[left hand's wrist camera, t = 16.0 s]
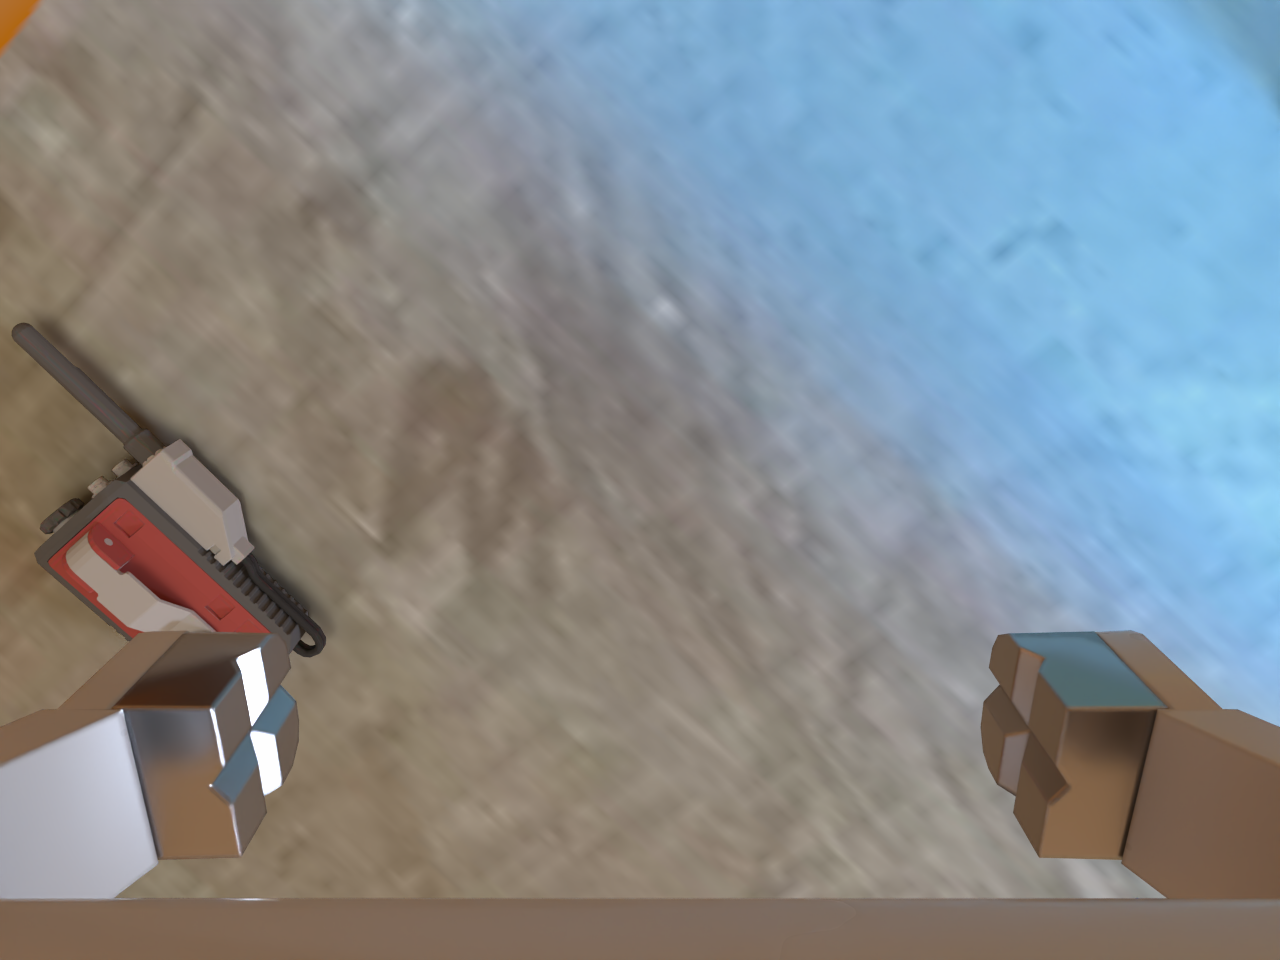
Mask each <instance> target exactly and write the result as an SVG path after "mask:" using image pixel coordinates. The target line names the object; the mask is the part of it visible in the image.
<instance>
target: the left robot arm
mask: <svg viewBox="0 0 1280 960" xmlns="http://www.w3.org/2000/svg"><path fill="white" fill-rule="evenodd" d="M290 669H291V665H290V660H289V655H288V649H287V644H286V641H285V640H284V639H283V638H282V637H281V636H280V635H279V633H247V632H189V631H152V632H143V633H138V634H137V635H136V636H135V637H134V638H133V639H132V640H131V641H130V642H129V643H128V644H126V645H125V646H124V647H123V648H122V649H121V650H120V651H119V652H118V653H117V654H116V655H115V656H114V657H113V658H112V659H110V660H109V661H108V662H107V663H106V664H105V665H104V666H103V667H102V668H101V669H100V670H99V671H98V672H97V673H96V674H94V675H93V676H92V677H91V678H90V679H89V680H88V681H87V682H86V683H85V684H84V685H83V686H82V687H81V688H80V689H78V690H77V691H76V692H75V693H74V694H73V695H72V696H71V697H70V698H69V699H68V700H67V701H66V702H65V703H63V704H62V705H61V706H60V707H59V708H58V709H42V710H40V711H38V712H35V713H33V714H30V715H28V716H26V717H23V718H21V719H18V720H16V721H14V722H11V723H9V724H6V725H4V726H2V727H0V960H1280V727H1278V726H1276V725H1274V724H1271V723H1269V722H1266V721H1264V720H1262V719H1259V718H1257V717H1254V716H1252V715H1250V714H1247V713H1245V712H1242V711H1240V710H1238V709H1222V708H1221V707H1220V706H1219V705H1218V704H1217V703H1216V702H1214V701H1213V700H1212V699H1211V698H1210V697H1209V696H1208V695H1207V694H1206V693H1205V692H1204V691H1203V690H1202V689H1201V688H1200V687H1198V686H1197V685H1196V684H1195V683H1194V682H1193V681H1192V680H1191V679H1190V678H1189V677H1188V676H1187V675H1186V674H1185V673H1184V672H1183V671H1181V670H1180V669H1179V668H1178V667H1177V666H1176V665H1175V664H1174V663H1173V662H1172V661H1171V660H1170V659H1169V658H1168V657H1167V656H1165V655H1164V654H1163V653H1162V652H1161V651H1160V650H1159V649H1158V648H1157V647H1156V646H1155V645H1154V644H1153V643H1152V642H1151V641H1150V640H1148V639H1147V638H1146V637H1145V636H1144V635H1143V634H1141V633H1138V632H1134V631H1131V630H1128V631H1104V632H1053V633H1012V634H1002V635H998V637H997V639H996V641H995V643H994V645H993V648H992V653H991V659H990V664H989V669H990V670H991V672H992V673H993V675H994V676H995V678H996V679H997V681H998V682H999V684H1000V685H999V686H998V687H997V688H996V689H995V690H994V691H993V692H992V693H991V694H990V695H989V696H988V698H987V699H986V700H985V701H984V703H983V712H982V720H981V736H982V746H983V753H984V756H985V759H986V762H987V765H988V768H989V770H990V772H991V774H992V776H993V778H994V780H995V781H996V783H997V785H999V786H1000V787H1002V788H1004V789H1005V790H1007V791H1008V792H1010V793H1011V794H1013V795H1015V796H1016V798H1015V804H1014V810H1013V813H1014V815H1015V817H1016V818H1017V820H1018V822H1019V824H1020V825H1021V827H1022V829H1023V831H1024V832H1025V834H1026V836H1027V837H1028V839H1029V841H1030V843H1031V844H1032V846H1033V848H1034V850H1035V851H1036V853H1037V855H1038V856H1039V858H1076V859H1112V860H1122V862H1121V863H1122V864H1123V865H1124V866H1125V867H1127V868H1128V869H1129V870H1131V871H1132V872H1133V873H1135V874H1136V875H1137V876H1139V877H1140V878H1141V879H1143V880H1144V881H1145V882H1147V883H1148V884H1149V885H1151V886H1152V887H1153V888H1154V889H1156V890H1157V891H1158V892H1160V893H1161V894H1162V895H1164V896H1165V897H1166V898H779V899H778V898H773V899H772V898H766V899H765V898H753V899H751V898H746V899H744V898H740V899H738V898H733V899H730V898H726V899H724V898H720V899H717V898H713V899H709V898H706V899H703V898H700V899H696V898H693V899H688V898H687V899H682V898H680V899H675V898H673V899H661V898H660V899H654V898H653V899H510V898H508V899H507V898H114V897H115V896H117V895H118V894H119V893H121V892H122V891H123V890H125V889H126V888H127V887H128V886H130V885H131V884H132V883H134V882H135V881H136V880H138V879H139V878H140V877H142V876H143V875H144V874H146V873H147V872H148V871H150V870H151V869H152V868H154V867H155V866H156V865H158V860H167V859H203V858H238V857H242V855H243V853H244V851H245V850H246V848H247V846H248V844H249V843H250V841H251V839H252V838H253V836H254V834H255V832H256V831H257V829H258V827H259V825H260V824H261V822H262V820H263V818H264V817H265V815H266V813H267V810H266V804H265V798H264V796H265V795H267V794H269V793H270V792H272V791H273V790H275V789H276V788H278V787H280V786H281V785H283V783H284V781H285V780H286V778H287V776H288V774H289V772H290V770H291V768H292V766H293V763H294V758H295V754H296V750H297V746H298V742H299V717H298V710H297V703H296V701H295V700H294V699H293V698H292V696H291V695H290V694H289V693H288V692H287V691H286V690H285V689H284V688H283V687H282V686H281V685H280V684H281V682H282V681H283V679H284V678H285V676H286V675H287V673H288V672H289V670H290Z"/></svg>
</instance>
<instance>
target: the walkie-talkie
mask: <svg viewBox="0 0 1280 960" xmlns="http://www.w3.org/2000/svg"><path fill="white" fill-rule="evenodd" d="M12 337H13V339H14V341H15V342H16V343H17V344H19V345H20V346H21V347H22V348H23V349H24V350H25V351H26V352H27V353H28V354H29V355H30V356H31V357H32V358H33V359H34V360H35V361H37V362H38V363H39V364H40V365H41V366H42V367H43V368H44V369H45V370H46V371H47V372H48V373H49V374H50V375H51V376H52V377H53V378H55V379H56V380H57V381H58V382H59V383H60V384H61V385H62V386H63V387H64V388H65V389H66V390H67V391H68V392H69V393H70V394H71V395H73V396H74V397H75V398H76V399H77V400H78V401H79V402H80V403H81V404H82V405H83V406H84V407H85V408H86V409H87V410H88V411H89V412H91V413H92V414H93V415H94V416H95V417H96V418H97V419H98V420H99V421H100V422H101V423H102V424H103V425H104V426H105V427H106V428H107V429H109V430H110V431H111V432H112V433H113V434H114V435H115V436H116V437H117V438H118V439H119V440H120V441H121V442H122V443H123V444H124V449H125V450H126V451H128V452H129V453H130V454H131V455H132V456H133V457H134V458H135V459H136V460H137V461H138V462H139V463H140V464H139V465H138V466H136V465H137V464H136V463H134V464H131V463H130V462H129V461H128V460H127V459H124V460H123V461H121V462H120V463H119V464H117V465H116V466H115V467H114V468H113V469H112V471H113V472H114V473H115V474H116V475H117V478H116V479H115V480H114V481H113V480H111V481H110V482H109V481H107V480H106V479H105V478H104V477H103V476H101V477H100V478H98V479H97V480H96V481H94V482H93V483H92V484H91V485H90V486H89V487H88V489H89V490H90V491H91V492H92V493H93V496H92V498H93V499H92V500H91V501H89V502H88V503H87V504H86V505H85V506H84V503H83V502H82V501H81V500H80V499H79V498H75V499H72V500H70V501H68V502H67V503H65V504H64V505H62V506H61V507H60V508H59V509H58V510H56V511H55V512H54V513H52V514H51V515H50V516H48V517H47V518H46V519H45V520H44V521H43V522H42V523H41V526H40V530H42V531H43V532H44V533H45V534H50V533H53V532H54V533H55V534H53V535H52V536H51V537H50V538H49V539H48V540H47V541H46V542H45V543H44V544H42V545H41V546H40V547H39V548H38V549H37V551H36V552H35V553H34V554H35V557H36V560H37V563H38V564H39V565H40V566H42V567H43V568H44V569H45V570H46V571H47V572H49V573H50V574H51V575H52V576H53V577H54V578H55V579H57V580H58V581H59V582H60V583H61V584H62V585H64V586H65V587H66V588H67V589H68V590H69V591H70V592H72V593H73V594H74V595H75V596H76V597H77V598H79V599H80V600H81V601H82V602H83V603H84V604H85V605H87V606H88V607H89V608H90V609H91V610H92V611H94V612H95V613H96V614H97V615H98V616H99V617H100V618H102V619H103V620H104V621H105V622H106V623H107V624H109V625H110V626H112V627H114V628H115V629H116V631H117V632H118V633H120V634H122V635H123V636H124V637H125V639H126V640H127V641H131V640H132V639H133V638H134V637H135V636H136V635H137V634H138V633H143V632H152V631H189V632H247V633H279V635H280V636H281V637H282V638H283V639H284V640H285V641H286V644H287V649H288V655H289V654H290V653H291V651H292V650H294V651H295V652H296V653H297V654H299V655H301V656H303V657H312V656H315V655H317V654H319V653H320V652H321V651H322V649H323V648H324V646H325V645H326V637H325V635H324V633H323V631H322V630H321V628H320V627H319V626H318V625H317V624H316V623H315V622H314V621H313V620H312V619H311V618H310V617H309V616H308V611H307V610H305V609H304V608H303V607H302V606H301V604H300V603H297V602H296V601H295V600H294V599H293V597H292V596H290V595H289V594H288V593H287V592H286V590H285V589H284V588H282V587H280V586H279V585H278V583H277V582H276V581H274V580H273V579H272V578H271V577H270V575H269V574H268V573H266V572H265V571H264V570H262V568H261V567H260V566H258V563H257V560H256V559H255V558H254V556H253V555H252V554H251V553H250V552H251V551H252V550H253V549H254V548H255V547H254V546H253V545H252V544H251V543H250V542H249V541H248V537H247V533H246V528H245V523H244V518H243V513H242V508H241V504H240V501H239V499H238V498H237V497H236V496H235V495H234V494H233V493H232V492H230V491H229V490H228V489H227V488H226V487H225V486H224V485H223V484H222V483H221V482H220V481H219V480H218V479H217V478H216V477H215V476H214V475H213V474H212V473H211V472H210V471H209V470H208V469H207V468H206V467H205V466H204V465H203V464H202V463H201V462H200V461H198V460H197V459H196V458H195V457H194V456H193V453H192V450H191V449H190V448H189V447H188V446H187V445H186V444H185V443H184V442H183V441H182V440H181V439H179V440H177V441H176V442H174V443H172V444H171V445H169V446H168V447H165V446H164V445H163V444H162V443H161V442H160V441H159V440H158V439H157V438H156V437H155V436H154V435H153V434H152V433H151V432H150V431H149V430H148V429H141V428H140V427H139V426H138V425H137V424H136V423H135V422H134V421H133V420H132V419H131V418H130V417H129V416H128V415H127V414H126V413H125V412H124V411H123V410H122V409H121V408H120V407H119V406H118V405H117V404H116V403H115V402H113V401H112V400H111V399H110V398H109V397H108V396H107V395H106V394H105V393H104V392H103V391H102V390H101V389H100V388H99V387H98V386H97V385H96V384H95V383H94V382H93V381H92V380H91V379H90V378H89V377H88V376H87V375H85V374H84V373H83V372H82V371H81V370H80V369H79V368H77V367H75V366H74V365H73V364H72V363H71V362H69V361H68V360H67V359H66V358H65V357H64V356H63V355H62V354H61V353H60V352H59V351H58V350H57V349H56V348H55V347H54V346H53V345H51V344H50V343H49V342H48V341H47V340H46V339H45V338H44V337H43V336H42V335H41V334H40V333H39V332H38V331H37V330H36V329H35V328H33V327H32V326H31V325H30V324H27V323H20V324H17V325H16V326H15V327H14V328H13V330H12ZM83 506H84V507H83ZM305 632H307V633H308V634H309V635H311V637H312V638H313V640H314V641H315V644H316V645H313V646H310V645H307V644H305V643H304V642H303V641H301V640H300V639H301V637H302V636H303V634H304V633H305Z"/></svg>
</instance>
